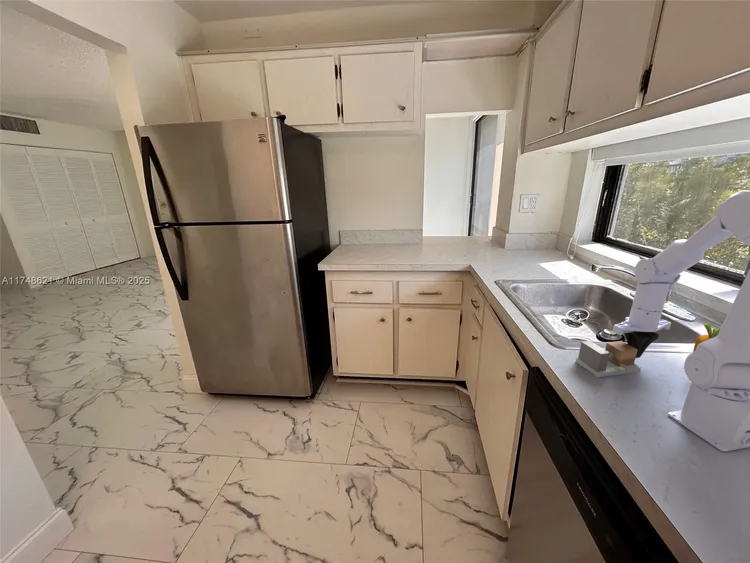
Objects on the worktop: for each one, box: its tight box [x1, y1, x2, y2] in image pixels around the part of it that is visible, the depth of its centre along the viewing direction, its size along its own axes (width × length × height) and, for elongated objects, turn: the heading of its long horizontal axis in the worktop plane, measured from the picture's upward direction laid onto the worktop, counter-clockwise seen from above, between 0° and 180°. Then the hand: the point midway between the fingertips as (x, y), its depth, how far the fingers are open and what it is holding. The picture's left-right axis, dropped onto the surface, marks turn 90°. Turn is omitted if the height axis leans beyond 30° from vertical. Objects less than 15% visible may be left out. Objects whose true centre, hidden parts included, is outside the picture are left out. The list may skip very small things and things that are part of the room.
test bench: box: [575, 340, 642, 378], centre depth 79 cm, size 7×12×6 cm, turn 99°
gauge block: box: [604, 340, 638, 370], centre depth 78 cm, size 6×6×4 cm
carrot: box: [692, 322, 722, 353], centre depth 71 cm, size 5×5×15 cm
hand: (634, 355), depth 80 cm, fingers closed
